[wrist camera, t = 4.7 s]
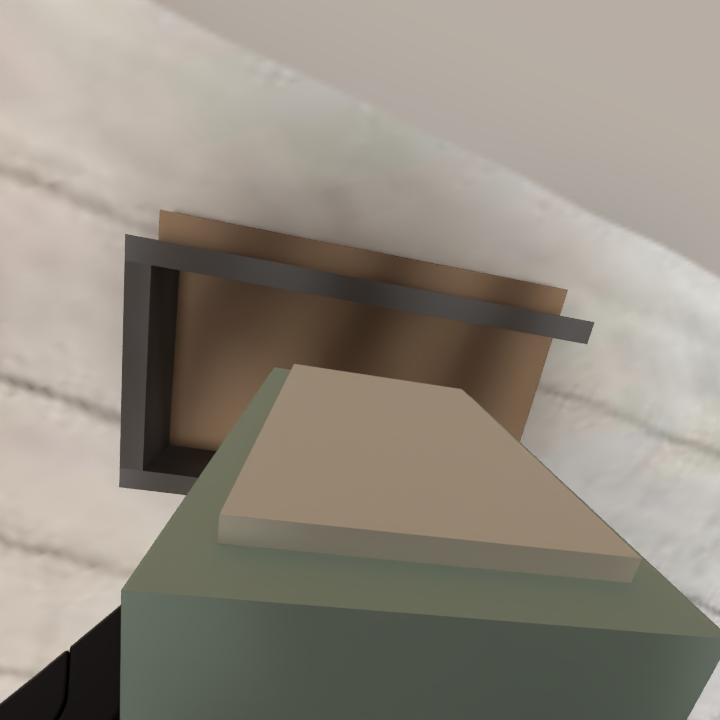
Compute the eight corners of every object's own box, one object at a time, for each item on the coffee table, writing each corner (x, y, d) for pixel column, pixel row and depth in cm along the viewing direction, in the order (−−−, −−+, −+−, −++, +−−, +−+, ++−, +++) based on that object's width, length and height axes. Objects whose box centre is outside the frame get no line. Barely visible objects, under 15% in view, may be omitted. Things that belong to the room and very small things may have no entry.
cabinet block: (473, 385, 9) (745, 611, 3) (413, 610, 10) (509, 1038, 5) (275, 355, 8) (121, 555, 2) (246, 596, 10) (115, 1060, 4)
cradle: (553, 289, 19) (604, 292, 15) (485, 510, 22) (514, 556, 18) (172, 214, 17) (126, 197, 13) (159, 469, 20) (118, 511, 16)
